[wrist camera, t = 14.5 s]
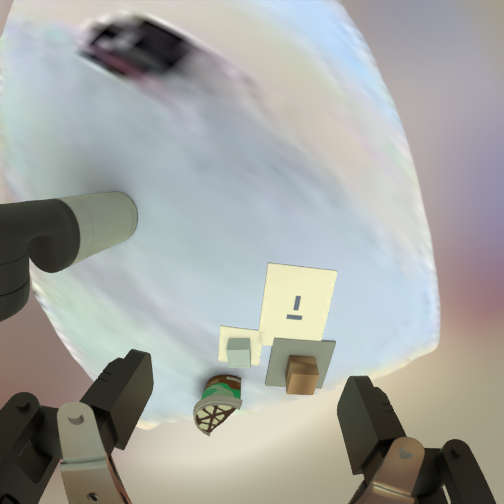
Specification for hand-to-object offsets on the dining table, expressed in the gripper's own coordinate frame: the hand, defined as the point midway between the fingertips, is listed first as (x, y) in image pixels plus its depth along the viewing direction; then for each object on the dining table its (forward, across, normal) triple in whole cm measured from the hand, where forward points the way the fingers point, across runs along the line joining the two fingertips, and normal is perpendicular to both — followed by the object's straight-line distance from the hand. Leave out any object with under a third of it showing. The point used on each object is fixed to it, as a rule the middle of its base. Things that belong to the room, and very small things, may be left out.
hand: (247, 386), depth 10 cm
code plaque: (+36, -8, +13) cm, 39 cm away
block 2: (+36, -11, +25) cm, 45 cm away
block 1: (+36, +1, +22) cm, 42 cm away
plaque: (+36, +1, +22) cm, 42 cm away
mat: (+36, -11, +25) cm, 45 cm away
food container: (+36, +5, +33) cm, 49 cm away
